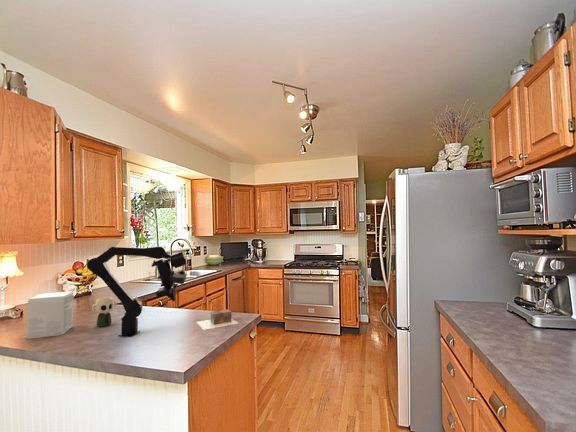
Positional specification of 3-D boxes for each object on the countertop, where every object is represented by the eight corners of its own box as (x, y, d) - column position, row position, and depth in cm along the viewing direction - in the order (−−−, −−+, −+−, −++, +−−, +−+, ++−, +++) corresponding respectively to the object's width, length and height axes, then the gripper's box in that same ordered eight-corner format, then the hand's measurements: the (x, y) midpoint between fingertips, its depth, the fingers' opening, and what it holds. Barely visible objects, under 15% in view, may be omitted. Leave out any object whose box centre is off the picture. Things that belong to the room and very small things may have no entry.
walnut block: (213, 314, 136) (231, 311, 141) (210, 311, 140) (228, 309, 145) (213, 324, 136) (231, 321, 140) (210, 322, 140) (228, 319, 145)
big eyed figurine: (94, 329, 133) (95, 302, 134) (88, 327, 137) (89, 300, 138) (119, 323, 142) (119, 297, 143) (112, 321, 146) (113, 296, 147)
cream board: (203, 331, 129) (203, 329, 129) (196, 323, 141) (196, 322, 141) (238, 324, 138) (238, 323, 138) (228, 317, 150) (228, 316, 150)
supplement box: (73, 326, 139) (74, 290, 140) (62, 335, 127) (64, 295, 128) (39, 330, 134) (41, 293, 135) (25, 339, 122) (27, 298, 123)
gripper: (175, 275, 126) (185, 306, 129) (186, 261, 144) (195, 288, 147) (150, 281, 125) (161, 312, 129) (165, 265, 143) (173, 293, 147)
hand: (174, 300), depth 138 cm, fingers closed
